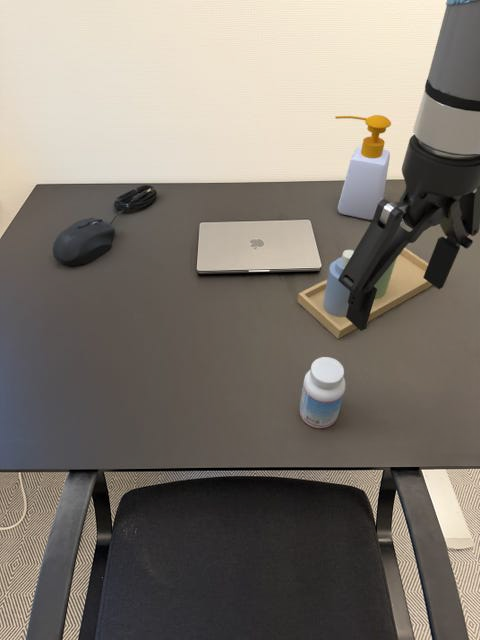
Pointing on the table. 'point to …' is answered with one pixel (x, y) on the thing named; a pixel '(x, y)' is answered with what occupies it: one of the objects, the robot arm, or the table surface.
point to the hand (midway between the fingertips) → (395, 302)
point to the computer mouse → (96, 230)
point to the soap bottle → (366, 172)
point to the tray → (400, 288)
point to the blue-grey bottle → (337, 287)
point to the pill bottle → (322, 392)
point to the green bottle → (384, 282)
